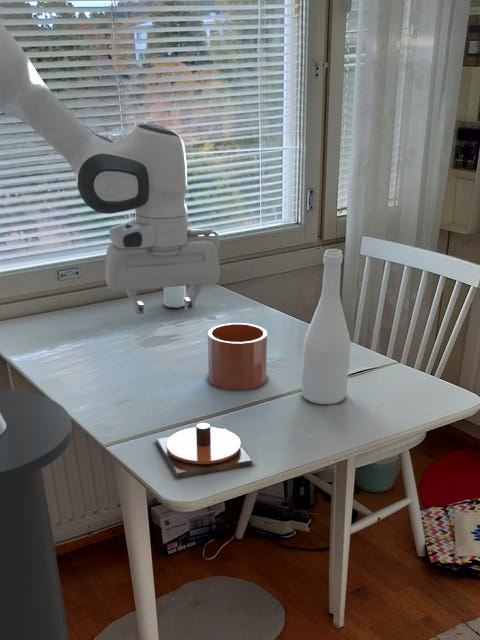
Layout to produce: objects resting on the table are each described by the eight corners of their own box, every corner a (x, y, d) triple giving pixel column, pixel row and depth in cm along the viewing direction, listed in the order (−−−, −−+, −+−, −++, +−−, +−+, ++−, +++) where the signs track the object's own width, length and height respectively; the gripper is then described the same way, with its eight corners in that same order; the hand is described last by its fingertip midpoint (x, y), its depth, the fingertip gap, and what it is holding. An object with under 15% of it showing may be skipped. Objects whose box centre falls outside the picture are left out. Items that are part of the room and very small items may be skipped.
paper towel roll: (177, 309, 213) (174, 227, 201) (159, 305, 216) (155, 224, 204) (192, 302, 218) (190, 222, 206) (175, 299, 221) (172, 219, 209)
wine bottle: (304, 385, 171) (312, 243, 154) (348, 389, 169) (360, 246, 152) (297, 403, 163) (305, 255, 146) (343, 407, 161) (356, 258, 145)
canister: (219, 393, 167) (219, 346, 161) (201, 372, 177) (200, 326, 171) (274, 385, 171) (275, 339, 165) (253, 365, 180) (254, 320, 174)
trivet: (177, 478, 137) (177, 473, 136) (156, 443, 148) (156, 438, 147) (252, 465, 141) (252, 460, 140) (226, 432, 152) (226, 427, 151)
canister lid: (178, 472, 136) (177, 448, 134) (157, 438, 147) (156, 415, 145) (251, 459, 140) (252, 436, 138) (226, 427, 151) (226, 405, 149)
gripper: (214, 223, 139) (213, 301, 147) (100, 230, 134) (106, 310, 141) (225, 231, 135) (224, 311, 142) (107, 238, 129) (113, 321, 136)
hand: (164, 310), depth 142 cm, fingers open, 8 cm apart
